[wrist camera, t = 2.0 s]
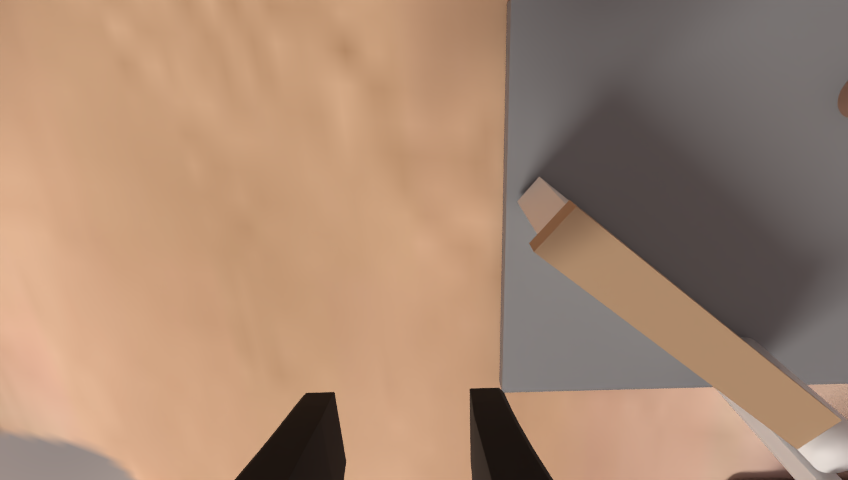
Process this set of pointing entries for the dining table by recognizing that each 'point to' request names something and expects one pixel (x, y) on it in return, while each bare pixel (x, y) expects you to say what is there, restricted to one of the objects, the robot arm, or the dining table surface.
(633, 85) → the grey plate with bar
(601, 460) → the dining table surface
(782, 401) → the gate
